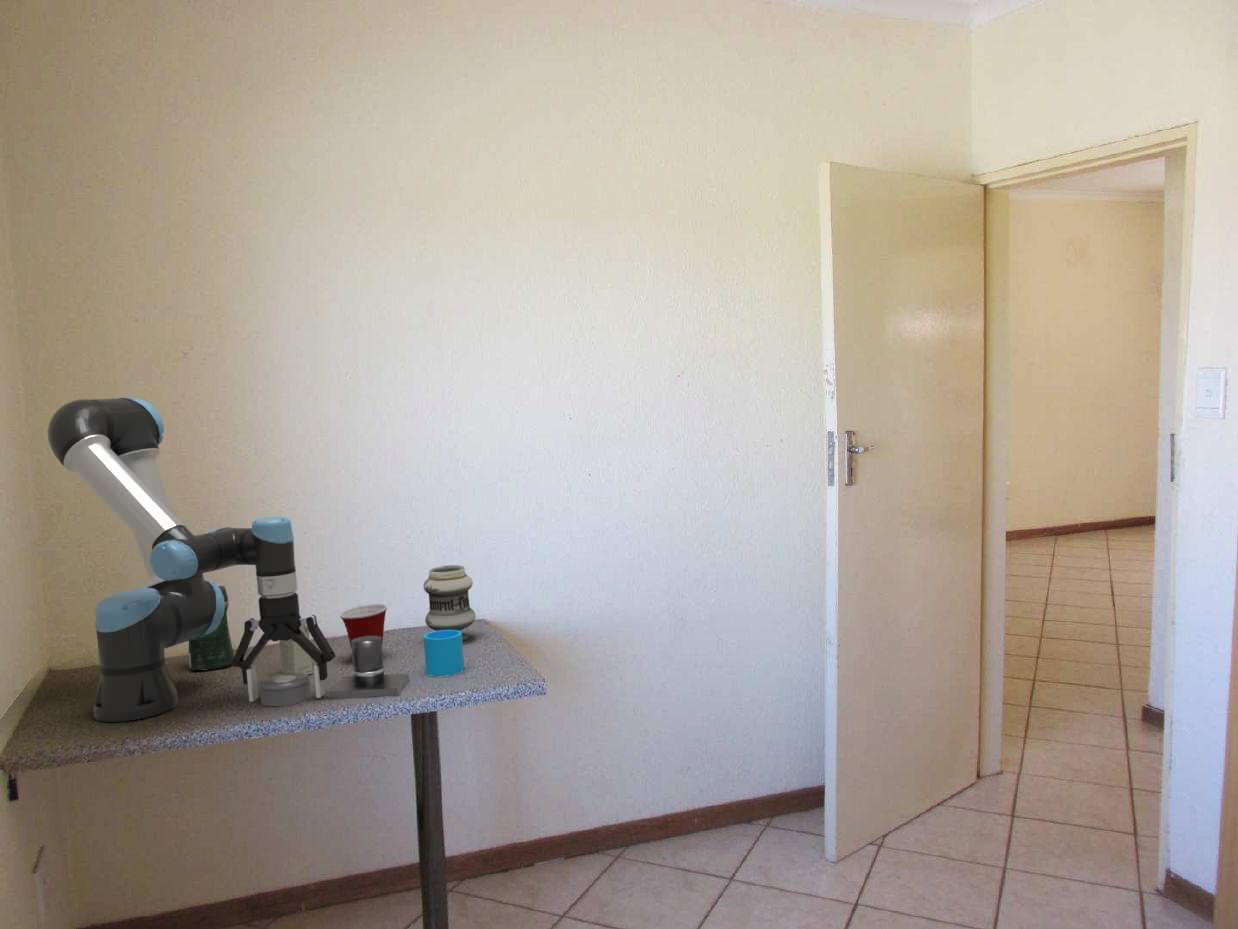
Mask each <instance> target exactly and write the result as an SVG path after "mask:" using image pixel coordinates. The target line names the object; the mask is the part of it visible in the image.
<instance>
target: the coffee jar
mask: <svg viewBox="0 0 1238 929" xmlns="http://www.w3.org/2000/svg"><path fill="white" fill-rule="evenodd" d="M217 586H218V587H219V588H220V590H221V592H222V594H223V597H224V603H225V610H224V615H223V617H222V619H221V623H220V624H219V626H218V627H217V628H216V629H215V630H214V631H212V632H211V633H209V634H206V635H204V636H202V637H201V638H198V639H195V640H190V641H188V666H189V667H188V668H189V669H190V670H191V669H192V671H194V670H202V669H213V670H217V669H216V668H219V669H222V667H223V668H227V667H229V666H230V665H231V666H232V661H233V659H234V656H235V654H234V650H233V645H232V644H233V643H232V640H231V635H230V630H229V624H228V608H229V604H230V602H229V601H230V600H229V597H228V594H227V590H226V587H225V586H224V585H217ZM226 666H227V667H226Z"/></svg>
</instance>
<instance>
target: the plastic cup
mask: <svg viewBox="0 0 1238 929" xmlns="http://www.w3.org/2000/svg"><path fill="white" fill-rule="evenodd" d="M387 610H388V605H387V604H384V603H369V604H364V605H358V606H355V607H354V606H353V607H350V608H348V609H345V610H343V611H342V612H340V613H339V618H341V620H342V622H343V623H344V627H345V629H346V633H347V637H348V641H349V644H350V648H351V649H352V643H351V641H352V640H353V639H355V638H358V637H363V636H380V637H381V639H382V645H383V644H384V643H383V642H384V630H385V621H386V611H387Z"/></svg>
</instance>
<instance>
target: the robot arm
mask: <svg viewBox="0 0 1238 929" xmlns="http://www.w3.org/2000/svg"><path fill="white" fill-rule="evenodd" d="M164 426H165V425H164V422H163V419H162V416H161V414H160V413H159V411H158V410H157V409H156V408H155V407H154V405H152V404H151V403H150V402H147V401H145V399H144V400H143V399H140V398H132V397H131V398H130V397H117V398H98V399H97V398H96V399H88V398H87V399H77V400H72V401H70V402H67V403H65V404H64V405H62V406H60V407H59V408H58V409H57V410H56V411H55V413H53V415H52V417H51V419H50V421H49V423H48V428H47V429H48V430H47V439H48V440H47V441H48V443H49V444H48V445H49V447H50V449H51V451H52V453H53V455H54V456H55V458H56V459H57V460H58V461H59V462H60V464H61V465H63V467H64V468H65V469H66V470H67V471H69V472H71V473H77V474H78V475H79V476H80V477H81V478H82V479H83V480H84V481H85V482H86V484H88V485H89V486H90V487H91V488H92V489H93V491H94V493H95V492H96V494H98V496H99V498H101V499H102V500H103V501H104V503H106V504H107V506H108V507H109V508H110V509H112V511H113V512H114V513H115V514H116V515H117V516H118V517H119V518H120V520H122V521H123V523H124V524H125V525H127V526H128V528H129V529H130V530H131V531H132V534H133V537H134V540H135V542H136V545H137V547H138V548H137V549H138V552H139V554H140V557H141V559H142V563H143V566H144V568H145V572H146V574H147V575H146V576H147V578H148V581H147V582H146V583H145V585H144V586H143V587H142V588H141V587H140V588H134V589H133V588H132V589H130V590H125V591H120V592H118V593H117V592H116V593H114V594H112V595H110V596H107V597H105V598H103V599H102V600H101V601H99V602H98V603H97V605H96V607H95V611H94V612H95V622H94V628H95V630H96V639H97V640H96V641H97V653H98V659H99V660H98V662H99V672H100V674H99V675H100V678H99V683H98V686H97V691H96V694H95V698H94V703H93V707H92V708H93V717H94V719H95V718H96V719H95V720H96V721H99V722H106V723H118V722H119V723H120V722H130V720H131V721H136V719H137V720H142V719H141V718H143V719H147V718H151V717H154V716H155V717H156V716H158V715H160V713H161V714H164V713H166V712H168V711H171V710H172V709H174V708H175V707H176V706H178V704H179V697H178V696H179V695H178V691H177V689H176V686H175V684H174V681H173V680H172V677H171V676H170V674H169V671H168V668H167V667H166V658H165V649H168V648H171V647H174V646H177V645H180V644H183V643H186V642H189V641H190V640H195V639H198V638H201V637H202V636H204V635H206V634H209V633H211V632H212V631H214V630H215V629H216V628H217V627H218V626H219V624H220V623H221V619H222V617H223V615H224V610H225V603H224V597H223V594H222V592H221V590H220V588H219V587H218V586H219V585H217V584H215V582H214V581H212V580H208V579H205V576H204V574H206V573H211V572H214V571H218V570H223V569H226V568H230V567H234V566H255V575H256V587H257V595H259V596H260V597H259V598H258V609H259V616H260V619H255V618H252V617H251V618H250V619H247V620H246V621H245V622H244V624H243V625H244V632H243V634H242V636H241V639H240V641H239V644H238V647H237V649H236V652H235V654H234V659H233V661H232V664H231V666H232V667H233V668H240V669H241V672H242V683H243V684H244V685H247V690H248V701H249V702H250V703H251V702H254V701H256V700H257V699H258V698H259V691H258V679H257V668H256V666H255V665H253V663H254V662H255V660H256V659H257V658H258V656H259V655H260V653H261V652H262V651H263V649H264V648H265V647H266V645H267V644H268V643H269V641H272V642H279V640H283V641H288V640H290V639H292V640H293V641H294V642H296V643H297V644H298V645H299V646H300V647H301V648H302V649H303V650H304V651H305V652H306V653H307V654H308V655H309V656H310V657H311V659H312V661H314V662H315V663H316V664H314V665H313V673H314V684H315V697H316V699H321V698H322V697H323V696H324V695H325V685H324V684H325V683H324V682H325V680H326V679H327V678H328V665H327V664H328V663H330V662H332V661H333V660H334V659H335V658H336V653H335V652H334V650H333V648H332V647H331V645H330V643H329V642H328V640H327V638H326V636H325V635H324V633H323V632H322V630H321V629H320V627H319V625H318V621H317V616H316V615H315V614H311V615H309V616H305V617H302V616H301V614H300V606H299V604H300V603H299V594H298V593H296V591H297V590H298V579H297V571H296V560H295V542H294V539H295V538H294V537H295V536H294V533H293V528H292V522H291V520H290V519H289V518H288V517H286V516H268V517H262V518H260V517H259V518H256V519H254V520H253V521H252V522H251V527H227V526H226V527H220V528H213V529H210V531H208V532H207V533H202V534H196V535H194V533H192V532H191V531H190V529H188V527H186V526H185V525H184V523H182V521H181V520H180V519H179V518H178V517H177V516H176V515H175V514H174V512H173V511H174V510H173V509H172V505H171V504H170V500H169V497H168V493H167V491H166V488H165V485H164V483H163V480H162V477H161V475H160V474H161V473H160V471H159V468H158V465H157V462H156V459H157V458H158V456H159V455H160V452H161V451H160V450H161V449H160V447H159V446H160V445H161V444H162V442H163V439H164V436H163V434H164V432H165V427H164ZM301 624H304V626H305V627H306V628H308V630H309V635H311V638H312V639H313V641H314V643H315V644H314V643H313V642H311V639H310V640H309V639H308V638H307V637H306V636H305V634H304V633H303V632H302V631H301V630H300V629H299V628H300V626H301ZM258 627H259V629H260V631H262V632H263V634H262V635H261V636H260V638H259V639H258V641H257V643H256V644H255V646H254V647H253V648H252V650H250V652H249V654H248V655H247V656H246V653H247V651H248V648H249V646H250V644H251V641H252V638H253V636H254V633H255V631H256V630H258ZM315 645H316V646H315ZM245 656H246V658H245ZM175 705H176V706H175ZM174 706H175V707H174ZM173 707H174V708H173ZM170 709H171V710H170ZM165 711H166V712H165ZM163 712H164V713H163Z"/></svg>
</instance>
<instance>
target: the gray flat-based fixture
mask: <svg viewBox="0 0 1238 929" xmlns="http://www.w3.org/2000/svg"><path fill="white" fill-rule="evenodd" d="M351 643H352V648H351V654H352V656H351V657H352V667H353V668H352V676H346V675H345V676H342V677H341V678H340V679H339V680H338V681H337V682H336V683H335V684H334V685H333V686H332V687H330V689H329V690H328V691H327V694H328V699H349V698H351V699H352V698H374V697H373V696H379V697H394V696H395V697H397V696H399V695H400V694H401V693H402V691H403V690H404V688H405V687H406V686H407V684H408V683H409V682H410V674H409V673H395V674H385V665H384V655H383V644H382V639H381V637H380V636H363V637H358V638H355V639H353V640H352V641H351ZM408 681H409V682H408ZM399 693H400V694H399ZM396 695H397V696H396ZM371 696H372V697H371Z"/></svg>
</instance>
